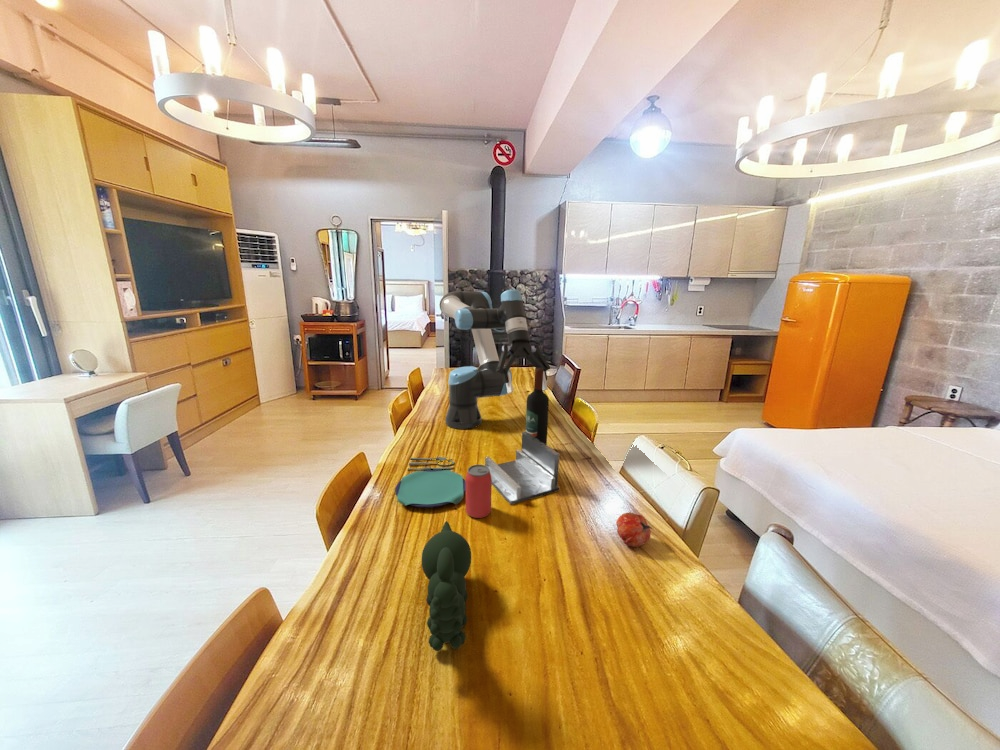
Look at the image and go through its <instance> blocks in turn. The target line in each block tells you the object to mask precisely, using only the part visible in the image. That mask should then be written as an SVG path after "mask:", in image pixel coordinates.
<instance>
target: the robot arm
mask: <svg viewBox="0 0 1000 750" xmlns="http://www.w3.org/2000/svg"><path fill="white" fill-rule="evenodd" d="M500 303H501V304H500V306H499V308H493V305H492V304H493V303H492V299H491V296H490V295H489V293H487V292H486V291H481V290H476V291H468V290H467V291H460V290H459V291H458V290H455V291H451V292H450V291H449V292H448V293H446V294H444V295H443V296H442V298H440V301H439V310H440V312H441V313H442V314H443V315H445V316H446V317H448V318H452V319H454V322H455V327H456V328H457V329H459V330H465V331H467V330H471V333H472V336H473V340H474V341H473V342H474V345H475V349H476V354H477V357H478V362H479V366H478V367H476V366H473V365H469V366H468V365H467V366H459V367H457V368H454V369H452V370H450V372H449V374H448V391H449V392H448V395H449V397H448V398H449V399H448V401H449V403H448V405H449V406H448V408H447V412H446V413H445V414H446V415H445V418H444V419H445V425H446V426H447V427H449V428H452V429H456V428H457V429H459V430H467V429H468V428H469V429H473V427H474V428H476V426H477V427H478V425H479V426H480V425H481V424H482V415H481V412H480V409H479V406H478V399H479V398H490V397H492V398H493V397H502V396H507V395H508V394H511V393H514V387H513V374H512V370H511V366H512V365H513V363H514V362H515V360H516V359H517V360H519V359H521V360H523V359H526V360H527V361H529V362H530V363H531V364H532V365H533V367H535V368H543V386H542V390H543V392H544V391H547V390H548V383H547V381H548V376H547V371H549V370H550V369H551V366H550V364H549V363H548V361H547V360H546V358H545V357H544V355H543V354H542V352H541V350H540V348H539V344H538V343H537V344H535V345H531V343H530V342H531V339H530V334H529V331H528V330H529V329H528V323H527V319H526V313H525V312H526V311H525V308H524V307H525V306H524V300H523V297H522V293H521V291H520V290H518V289H507V290H505V291H503V292H502V293H501V294H500ZM492 330H494V331H495V332H497V333H503V332H505V331H506V334H507V335H506V337H507V342H508V344H504V345H502V346H501V350H500V351H501V353H500V357H499V354H498V351H497V347H496V344H495V339H494V336H493V333H492V332H493V331H492ZM508 352H510V353H511V354H510V356H509V359H508V360H507V356H508ZM506 360H507V361H506Z"/></svg>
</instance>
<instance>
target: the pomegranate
mask: <svg viewBox="0 0 1000 750" xmlns="http://www.w3.org/2000/svg"><path fill="white" fill-rule="evenodd" d="M615 523H616V527H617V529H616V531H617V532H616V533H617V535H618V536H619V537H620V538H621V540H622V541H623V543H624V544H625V545H626V546H629V547H632V548H639V547H641V546H643V545H644V544H646V543H648V541H650V539H651V535H652V534H651V533H652V532H651V530H652V529H653V528H652V527H651V526H650V525H648V522H647V519H646V518H645V517H644V515H642V514H639V513H634V512H631V511H630V512H625V513H622V514H621V515H620V516H618V518H617V520H616V522H615Z"/></svg>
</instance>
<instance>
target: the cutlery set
mask: <svg viewBox="0 0 1000 750" xmlns="http://www.w3.org/2000/svg"><path fill="white" fill-rule="evenodd" d="M446 458H447V457H443V456H442V457H441V456H436V457H430V458H429V457H427V458H425V457H424V458H423V457H421V458H419V457H409V461H410V460H430V459H431V460H430V461H433V460H432V459H436V460H435V461H437V462H436V463H435V462H414V461H410V462H408V463H409V464H408V466H416V465H417V466H420V465H427V464H437V465H438V466H441V467H431V466H429V467H428V466H425V467H418V468H417V467H416V468H407V471H411V470H413V472H410V473H409V474H407V475H405V476H402V477H401V480H400V481H398V483H397V484H396V486H395V488H394V489H395V495H396V500H397V502H398V503H400V504H402V505H403V506H405V507H406V506H408V505H409V506H412V507H416V508H434V507H441V506H444V505H448V504H450V503H453V504H454V505H458V504H460V503H461V502H462V500H463V498H464V493H466V479H465V478H464V477H463V475H461V474H459V473H457V472H455V471H452V470H454V469H455V467H454V466H452V465H454V464H455V461H454V460H448V462H447V463H449V462H452V464H451V463H450V464H438V463H439V462H443V461H439V460H447V459H446ZM443 463H444V462H443ZM437 465H436V466H437ZM449 466H450V467H449ZM453 468H454V469H453ZM431 469H433V470H431ZM442 469H443V470H442ZM444 469H446V470H444ZM414 470H416V471H414Z"/></svg>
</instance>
